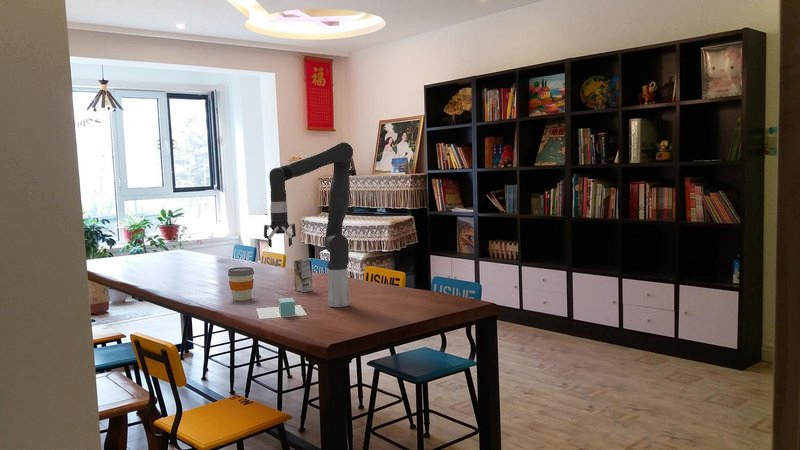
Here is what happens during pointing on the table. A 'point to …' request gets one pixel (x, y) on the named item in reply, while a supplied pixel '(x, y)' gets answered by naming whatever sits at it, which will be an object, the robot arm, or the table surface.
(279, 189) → the robot arm
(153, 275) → the table surface
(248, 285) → the reusable coffee cup
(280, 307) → the card box
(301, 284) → the coffee box
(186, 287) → the table surface
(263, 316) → the mat
